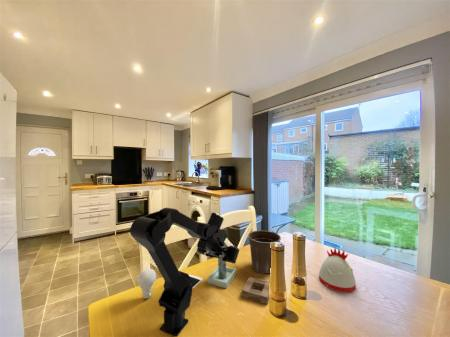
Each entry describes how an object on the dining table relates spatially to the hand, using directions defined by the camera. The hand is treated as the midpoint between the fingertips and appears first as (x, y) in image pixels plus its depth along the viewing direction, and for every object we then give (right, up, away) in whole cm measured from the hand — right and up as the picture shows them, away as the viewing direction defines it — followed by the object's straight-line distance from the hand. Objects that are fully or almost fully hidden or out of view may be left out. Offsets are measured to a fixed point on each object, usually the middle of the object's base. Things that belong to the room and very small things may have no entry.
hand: (224, 258), depth 89 cm
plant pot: (+20, -9, +8) cm, 23 cm away
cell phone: (-17, -9, -7) cm, 20 cm away
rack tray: (-1, -8, -1) cm, 9 cm away
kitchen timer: (+50, -9, -3) cm, 51 cm away
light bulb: (-30, -9, -14) cm, 34 cm away
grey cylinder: (-1, -8, -1) cm, 8 cm away
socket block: (+14, -9, -11) cm, 19 cm away
